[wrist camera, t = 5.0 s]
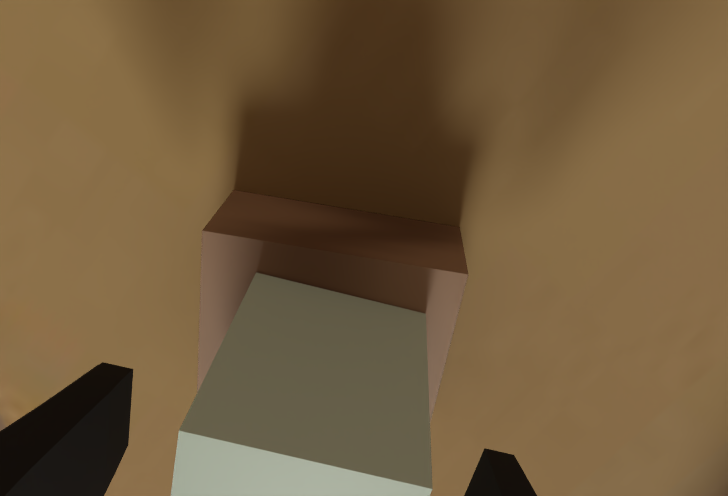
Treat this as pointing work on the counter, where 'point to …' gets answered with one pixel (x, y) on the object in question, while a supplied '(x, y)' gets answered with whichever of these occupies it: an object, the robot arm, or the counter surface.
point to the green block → (311, 400)
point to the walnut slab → (330, 265)
